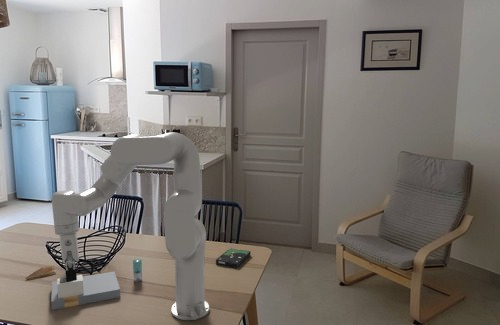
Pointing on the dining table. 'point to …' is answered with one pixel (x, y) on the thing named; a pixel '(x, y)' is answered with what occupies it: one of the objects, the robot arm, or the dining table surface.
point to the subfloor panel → (89, 291)
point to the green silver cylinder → (137, 270)
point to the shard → (42, 272)
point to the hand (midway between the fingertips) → (71, 275)
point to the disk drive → (233, 258)
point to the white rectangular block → (70, 287)
